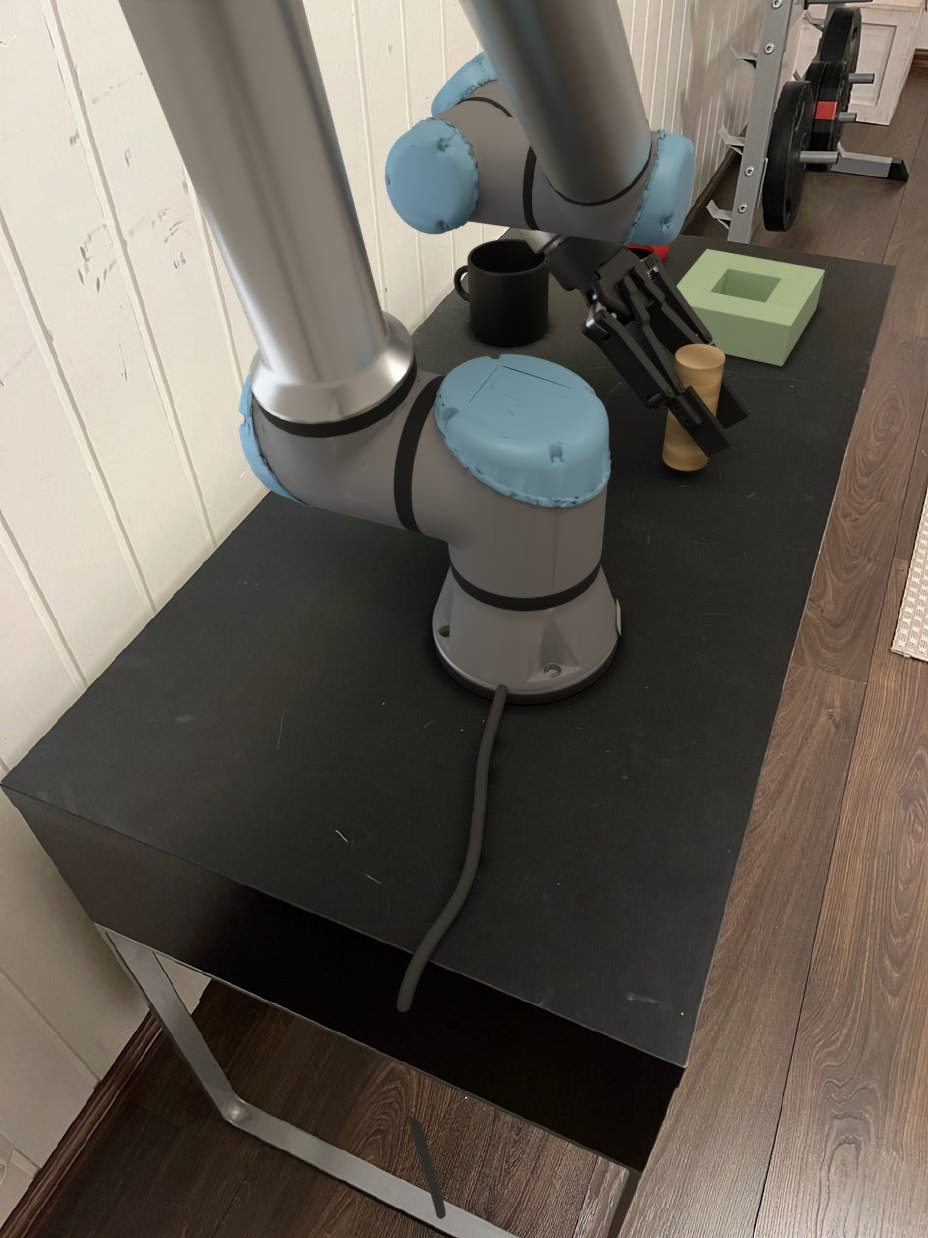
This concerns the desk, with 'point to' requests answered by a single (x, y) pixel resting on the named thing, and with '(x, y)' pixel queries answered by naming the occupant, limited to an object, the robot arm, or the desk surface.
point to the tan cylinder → (705, 376)
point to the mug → (506, 292)
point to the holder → (752, 303)
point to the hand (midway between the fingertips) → (728, 434)
